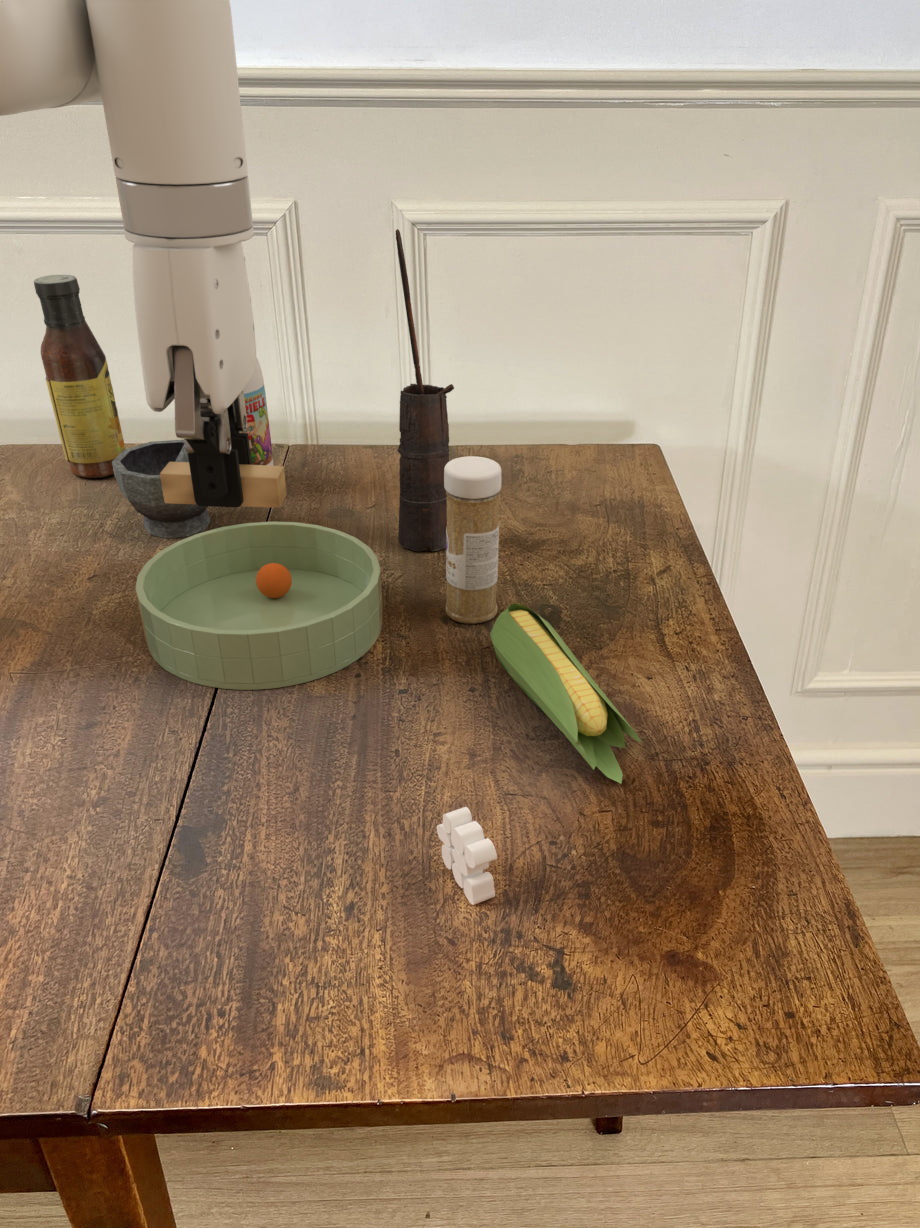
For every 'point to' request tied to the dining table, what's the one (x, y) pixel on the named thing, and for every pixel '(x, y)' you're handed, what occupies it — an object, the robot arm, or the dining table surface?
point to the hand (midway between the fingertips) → (225, 494)
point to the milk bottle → (258, 420)
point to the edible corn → (560, 686)
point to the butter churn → (421, 450)
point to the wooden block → (257, 483)
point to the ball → (273, 580)
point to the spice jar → (472, 538)
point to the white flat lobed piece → (467, 854)
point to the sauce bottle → (78, 381)
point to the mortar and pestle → (157, 489)
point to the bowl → (260, 605)
